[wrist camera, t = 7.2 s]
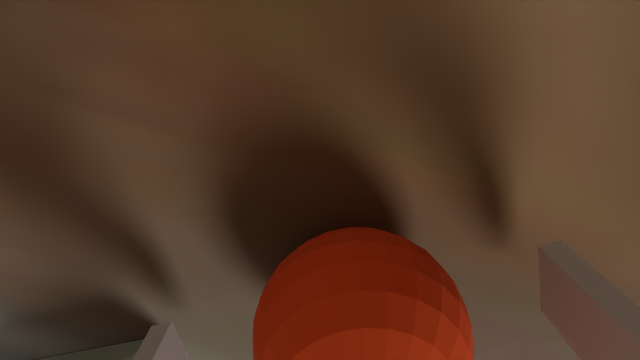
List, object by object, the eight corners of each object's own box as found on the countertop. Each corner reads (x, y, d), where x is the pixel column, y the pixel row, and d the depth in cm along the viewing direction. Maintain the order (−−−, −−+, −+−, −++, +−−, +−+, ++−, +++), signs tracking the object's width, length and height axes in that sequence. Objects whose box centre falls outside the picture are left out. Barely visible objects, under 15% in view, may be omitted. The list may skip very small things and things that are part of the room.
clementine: (493, 244, 15) (624, 408, 9) (408, 365, 18) (459, 568, 11) (309, 165, 14) (295, 284, 7) (243, 305, 16) (189, 490, 10)
